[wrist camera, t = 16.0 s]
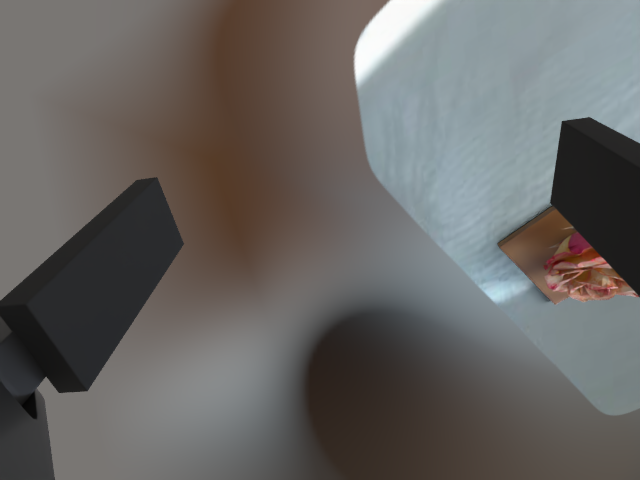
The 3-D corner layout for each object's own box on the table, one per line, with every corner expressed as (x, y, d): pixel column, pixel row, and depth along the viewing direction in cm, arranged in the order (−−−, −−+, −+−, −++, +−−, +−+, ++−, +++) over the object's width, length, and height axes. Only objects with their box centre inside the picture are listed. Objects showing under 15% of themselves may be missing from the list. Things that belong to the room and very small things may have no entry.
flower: (566, 192, 38) (565, 270, 34) (678, 209, 36) (688, 293, 33) (529, 236, 46) (525, 302, 43) (617, 252, 44) (620, 321, 41)
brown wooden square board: (497, 243, 44) (499, 247, 43) (594, 176, 39) (599, 179, 38) (552, 300, 47) (555, 305, 46) (647, 245, 43) (652, 249, 42)
